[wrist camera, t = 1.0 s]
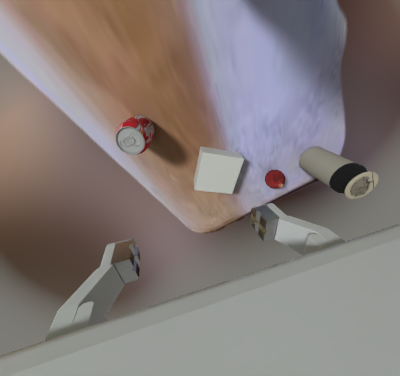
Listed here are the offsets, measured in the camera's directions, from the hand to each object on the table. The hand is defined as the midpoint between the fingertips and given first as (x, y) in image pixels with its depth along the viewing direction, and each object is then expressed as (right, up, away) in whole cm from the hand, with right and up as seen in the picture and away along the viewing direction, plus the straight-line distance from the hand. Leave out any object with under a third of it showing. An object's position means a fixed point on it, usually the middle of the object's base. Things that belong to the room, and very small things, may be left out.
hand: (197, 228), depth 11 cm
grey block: (+5, +9, +41) cm, 42 cm away
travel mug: (+37, +13, +43) cm, 58 cm away
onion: (+24, +8, +44) cm, 51 cm away
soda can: (-15, +19, +33) cm, 41 cm away
